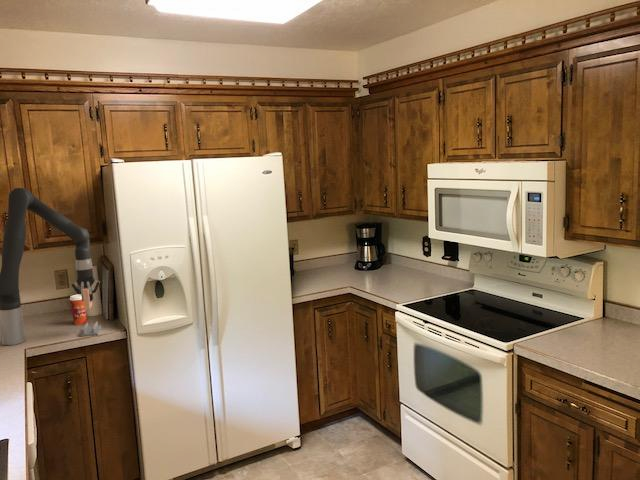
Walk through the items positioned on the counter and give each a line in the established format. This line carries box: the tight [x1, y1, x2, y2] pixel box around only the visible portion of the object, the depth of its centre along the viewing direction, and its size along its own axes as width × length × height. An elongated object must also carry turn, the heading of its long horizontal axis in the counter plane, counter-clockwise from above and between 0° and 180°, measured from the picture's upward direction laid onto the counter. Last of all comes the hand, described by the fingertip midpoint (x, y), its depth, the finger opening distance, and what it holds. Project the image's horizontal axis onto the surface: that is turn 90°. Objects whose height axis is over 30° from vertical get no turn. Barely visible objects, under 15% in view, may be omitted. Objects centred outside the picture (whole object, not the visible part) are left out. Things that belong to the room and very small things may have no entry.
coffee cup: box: [69, 293, 87, 326], centre depth 285 cm, size 8×8×15 cm
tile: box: [82, 288, 93, 311], centre depth 267 cm, size 9×2×10 cm, turn 15°
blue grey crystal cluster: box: [79, 321, 102, 338], centre depth 269 cm, size 8×13×4 cm, turn 15°
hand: (87, 301), depth 267 cm, fingers closed on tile, 2 cm apart
